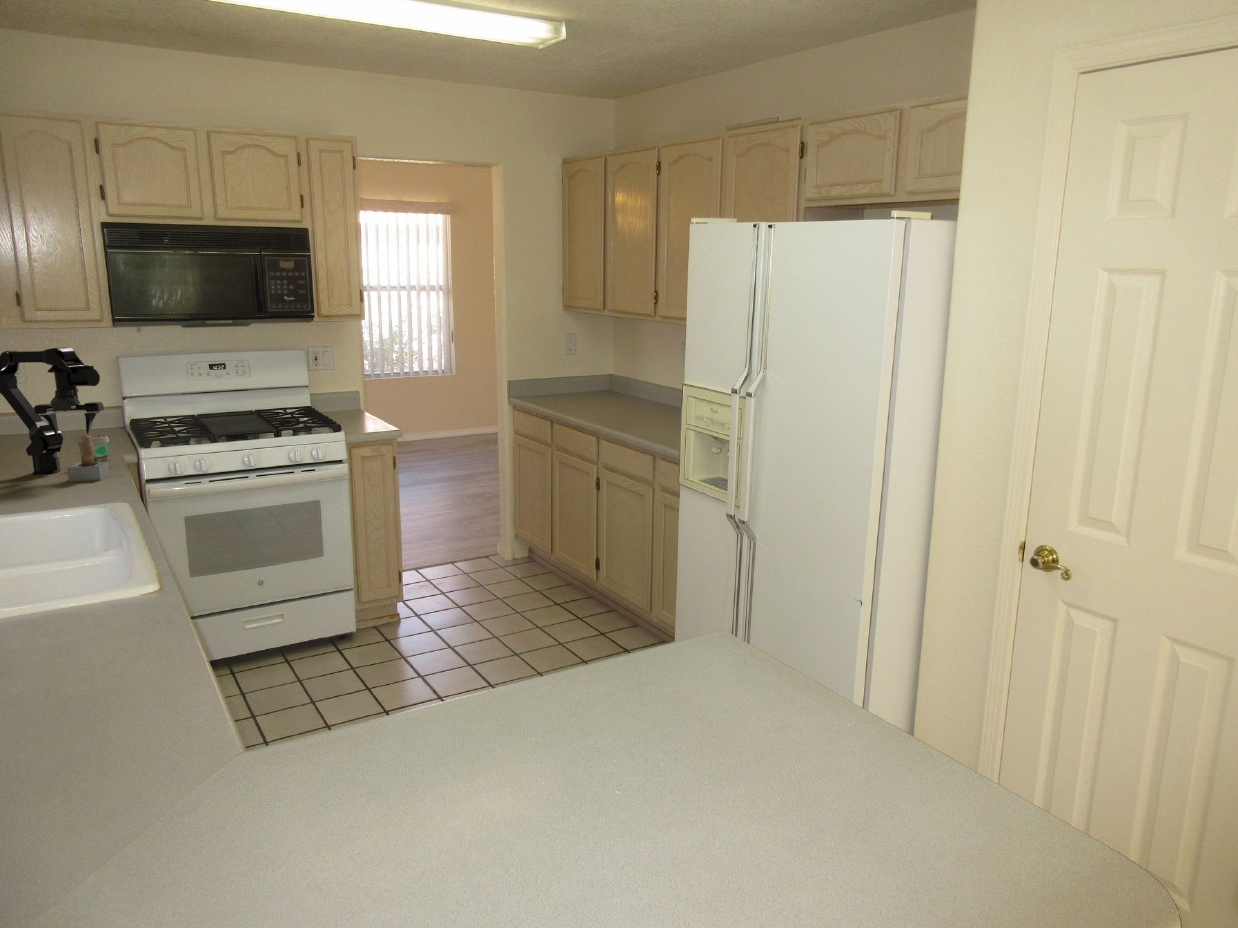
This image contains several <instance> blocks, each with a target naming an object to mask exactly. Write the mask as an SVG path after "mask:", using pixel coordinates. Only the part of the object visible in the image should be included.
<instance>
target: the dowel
mask: <svg viewBox="0 0 1238 928" xmlns="http://www.w3.org/2000/svg"><path fill="white" fill-rule="evenodd" d="M92 438H93V437H92V435H81V436H80V435H79V436H78V439H79V444H80V448H79V452H80V453H81V454H80V460H81V461H80V462H82V466H90V465H95V463H94V454H93V445H92Z"/></svg>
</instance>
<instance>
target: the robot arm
mask: <svg viewBox="0 0 1238 928" xmlns="http://www.w3.org/2000/svg"><path fill="white" fill-rule="evenodd" d="M20 363H25V364H26V363H42V364H45V365H49V366H51V367H50V368H49V369H48V370H47V373H51V374H54V382H55V390H54V391H55V392H54V397H53V398H52V399H51V401H50V403H39V404H35V405H34V407H33V405H32V404H31V402H29V400H28V398H26V396H25V395H24V394H23V393H22V391H21V390H20V388H19V387H18V379H17V376H16V374H17V373H18V371H19V367H20V366H19V364H20ZM100 380H101V376H100V374H99V372H98V371H97V370H96V369H95V367H94V365H93V364H88V365H86V364H85V363H84V362H83V361H82V359H80V357H79V356H78V355H77V353H76V352H75V350H74V349H73V348H72V347H70V346H65V347H64V346H63V347H61V346H60V347H52V348H47V349H43V350H5V351H3V352H2V353H0V395H2V396H3V398H4V400H5V401H7V403H8V405H9V406H10V407H11V408H12V410H13V411H14V412H15V414H16V415H17V416H18V418H20V420H21V421H22V422H23V424H24V425H25V426H26V428H27V429H28V435H29V436H28V438H29V440H30V442H31V443H30V444H29V445H28V446H27V447H26V449H25V452H26V454H27V456H29V457H31V459H32V466H33V471H32V472H31V474H32V475H34V474H35V475H37V474H54V473H57V472H59V471H61V469H62V467H61V464H60V463H61V462H60V458H59V456H58V454H57V453H60V452H61V449H62V446H63V443H64V441H63V440H64V437H63V432H62V431H61V430H60V429H59V427H58V420H57V419H58V418H57V414H56V412H69V411H71V412H72V411H85V413H83V414H84V418H85V430H86V434H88V435H89V434H90V432H91V429H92V426H93V423H94V420H95V418H96V416H97V414H99V413H100V412H102V411H104V410H105V408H104V406H105V405H104V404H103V402H101V401H88V402H85V403H84V404H81V402H80V400H79V394H78V392H79V388H78V387H96V386H98V385H99V383H100ZM42 418H43V419H45V420H46V422H45V421H44V420H43V419H42Z"/></svg>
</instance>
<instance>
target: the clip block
mask: <svg viewBox="0 0 1238 928" xmlns="http://www.w3.org/2000/svg"><path fill="white" fill-rule="evenodd" d="M94 463H95V465H90V466H82V462H81V461H80V462H76V463H73V464H72V465H69V466H67V468H66V469H67V478H68V482H71V483H72V482H87V481H88V482H91V481H102V480H104V479H105V478H107V477H109V476H111V473H110V471H111V470H110V463H109V461H105V462H94Z"/></svg>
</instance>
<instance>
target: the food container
mask: <svg viewBox="0 0 1238 928" xmlns="http://www.w3.org/2000/svg"><path fill="white" fill-rule="evenodd" d="M109 442H110V439H109V437H108V435H107V434H98V436H97V437H92V445H93V454H94V462H105V461H108V453H109V452H108V443H109ZM77 446H78V448H79V449H80V444H79V438H78V439H77ZM80 455H81V453H80ZM108 462H109V461H108Z"/></svg>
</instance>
